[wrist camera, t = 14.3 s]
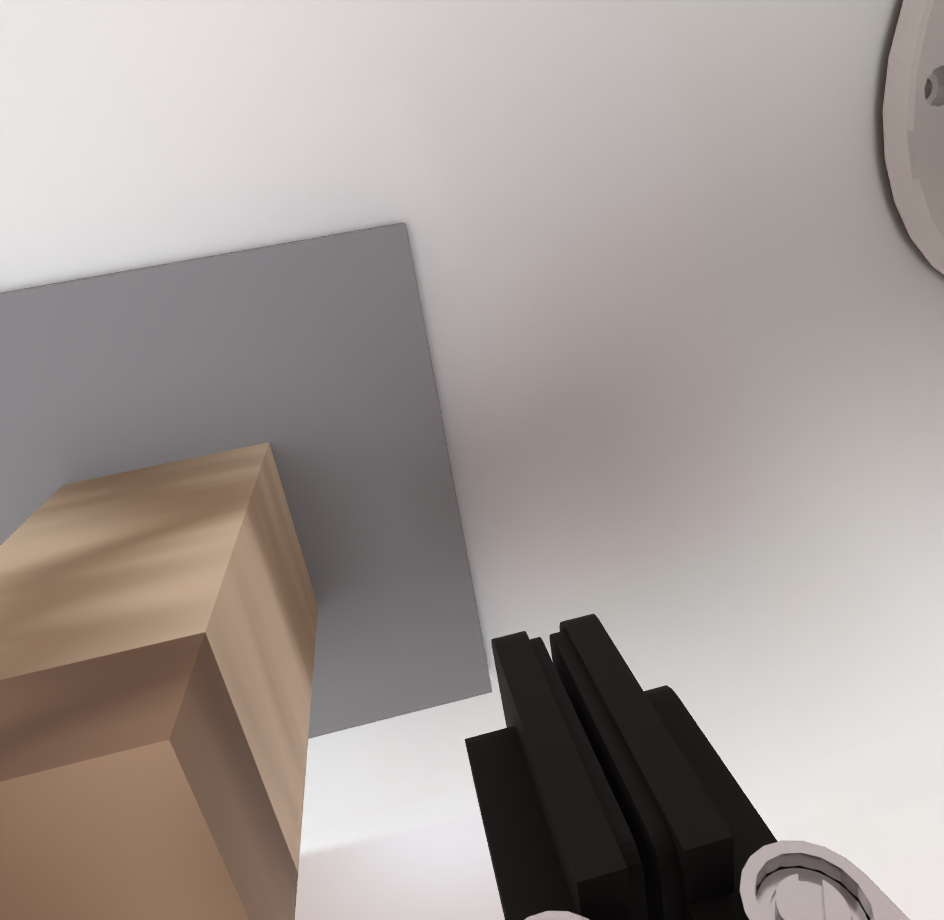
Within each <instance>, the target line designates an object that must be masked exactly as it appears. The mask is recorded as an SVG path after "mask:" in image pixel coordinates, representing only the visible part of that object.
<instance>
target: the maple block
mask: <svg viewBox="0 0 944 920" xmlns="http://www.w3.org/2000/svg"><path fill="white" fill-rule="evenodd" d="M317 614H318V604H317V601H316V598H315V594H314V591H313V588H312V584H311V581H310V577H309V574H308V571H307V567H306V564H305V561H304V557H303V554H302V551H301V547H300V544H299V541H298V537H297V534H296V531H295V527H294V524H293V520H292V517H291V514H290V510H289V507H288V504H287V500H286V497H285V494H284V490H283V487H282V484H281V480H280V477H279V473H278V470H277V467H276V463H275V460H274V457H273V453H272V450H271V447H270V443H269V442H267V443H263V444H258V445H253V446H248V447H243V448H238V449H234V450H229V451H224V452H219V453H214V454H209V455H204V456H200V457H195V458H190V459H185V460H180V461H175V462H170V463H166V464H161V465H156V466H151V467H146V468H141V469H137V470H132V471H127V472H122V473H117V474H112V475H107V476H103V477H98V478H93V479H88V480H83V481H78V482H73V483H69V484H64V485H62V486H61V487H60V488H59V489H58V490H57V491H56V492H55V493H54V494H53V495H52V496H51V497H50V498H49V499H48V500H47V501H46V502H45V503H44V504H43V505H42V506H41V507H40V508H38V509H37V510H36V511H35V512H34V513H33V514H32V515H31V516H30V517H29V518H28V519H27V520H26V521H25V522H24V523H23V524H22V525H21V526H20V527H19V528H18V529H17V530H16V531H15V532H14V533H13V534H12V535H11V536H10V537H9V538H8V539H7V540H6V541H5V542H4V543H3V544H1V545H0V920H294V919H295V906H296V893H297V879H298V865H299V853H300V840H301V827H302V813H303V800H304V787H305V773H306V760H307V747H308V734H309V720H310V707H311V694H312V681H313V667H314V654H315V641H316V628H317Z"/></svg>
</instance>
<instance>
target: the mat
mask: <svg viewBox="0 0 944 920" xmlns="http://www.w3.org/2000/svg"><path fill="white" fill-rule="evenodd" d="M267 442H269V443H270V447H271V450H272V453H273V457H274V460H275V463H276V467H277V470H278V473H279V477H280V480H281V484H282V487H283V490H284V494H285V497H286V500H287V504H288V507H289V510H290V514H291V517H292V520H293V524H294V527H295V531H296V534H297V537H298V541H299V544H300V547H301V551H302V554H303V557H304V561H305V564H306V567H307V571H308V574H309V577H310V581H311V584H312V588H313V591H314V594H315V598H316V601H317V604H318V614H317V628H316V641H315V654H314V667H313V681H312V694H311V707H310V720H309V734H308V739H309V738H313V737H317V736H321V735H324V734H328V733H332V732H336V731H340V730H344V729H348V728H352V727H356V726H360V725H364V724H368V723H372V722H376V721H380V720H384V719H388V718H392V717H395V716H399V715H403V714H407V713H411V712H415V711H419V710H423V709H427V708H431V707H435V706H439V705H443V704H447V703H451V702H455V701H459V700H463V699H467V698H470V697H474V696H478V695H482V694H486V693H490V692H492V688H491V683H490V678H489V672H488V667H487V661H486V656H485V651H484V645H483V640H482V634H481V629H480V624H479V618H478V613H477V607H476V602H475V597H474V591H473V586H472V580H471V575H470V570H469V564H468V559H467V553H466V548H465V543H464V537H463V532H462V526H461V521H460V516H459V510H458V505H457V499H456V494H455V489H454V483H453V478H452V472H451V467H450V461H449V456H448V451H447V445H446V440H445V434H444V429H443V424H442V418H441V413H440V407H439V402H438V397H437V391H436V386H435V380H434V375H433V370H432V364H431V359H430V353H429V348H428V343H427V337H426V332H425V326H424V321H423V316H422V310H421V305H420V299H419V294H418V289H417V283H416V278H415V272H414V267H413V262H412V256H411V251H410V245H409V240H408V235H407V229H406V224H405V223H398V224H392V225H386V226H381V227H375V228H369V229H364V230H358V231H352V232H346V233H341V234H335V235H329V236H323V237H318V238H312V239H306V240H301V241H295V242H289V243H283V244H278V245H272V246H266V247H260V248H255V249H249V250H243V251H238V252H232V253H226V254H220V255H215V256H209V257H203V258H197V259H192V260H186V261H180V262H175V263H169V264H163V265H157V266H152V267H146V268H140V269H134V270H129V271H123V272H117V273H111V274H106V275H100V276H94V277H89V278H83V279H77V280H71V281H66V282H60V283H54V284H48V285H43V286H37V287H31V288H26V289H20V290H14V291H8V292H3V293H0V545H1V544H3V543H4V542H5V541H6V540H7V539H8V538H9V537H10V536H11V535H12V534H13V533H14V532H15V531H16V530H17V529H18V528H19V527H20V526H21V525H22V524H23V523H24V522H25V521H26V520H27V519H28V518H29V517H30V516H31V515H32V514H33V513H34V512H35V511H36V510H37V509H38V508H40V507H41V506H42V505H43V504H44V503H45V502H46V501H47V500H48V499H49V498H50V497H51V496H52V495H53V494H54V493H55V492H56V491H57V490H58V489H59V488H60V487H61V486H62V485H64V484H69V483H73V482H78V481H83V480H88V479H93V478H98V477H103V476H107V475H112V474H117V473H122V472H127V471H132V470H137V469H141V468H146V467H151V466H156V465H161V464H166V463H170V462H175V461H180V460H185V459H190V458H195V457H200V456H204V455H209V454H214V453H219V452H224V451H229V450H234V449H238V448H243V447H248V446H253V445H258V444H263V443H267Z"/></svg>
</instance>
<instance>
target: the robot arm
mask: <svg viewBox="0 0 944 920" xmlns="http://www.w3.org/2000/svg"><path fill="white" fill-rule="evenodd" d="M883 129H884V153H885V162H886V167H887V171H888V176H889V180H890V185H891V189H892V194H893V198H894V202H895V204H896V207H897V209H898V211H899V213H900V216H901V218H902V220H903V222H904V225H905V227H906V229H907V231H908V233H909V236H910V238H911V239H912V240H913V242H914V243H915V244H916V246H917V247H918V248H919V250H920V251H921V252H922V253H923V255H924V256H925V257H926V259H927V260H928V261H929V263H930V264H931V265H932V266H933V267H934V268H936V269H937V270H938V271H939V272H941V273H942V274H943V275H944V0H903V4H902V7H901V11H900V15H899V19H898V23H897V27H896V30H895V34H894V38H893V42H892V46H891V50H890V53H889V59H888V67H887V76H886V85H885V94H884V103H883ZM491 642H492V649H493V655H494V660H495V666H496V671H497V677H498V682H499V688H500V693H501V699H502V704H503V710H504V715H505V720H506V726H507V728H505V729H501V730H497V731H494V732H490V733H486V734H482V735H479V736H475V737H471V738H467V739H465V743H466V747H467V752H468V757H469V761H470V766H471V770H472V775H473V780H474V784H475V789H476V793H477V798H478V802H479V807H480V811H481V816H482V820H483V825H484V829H485V834H486V838H487V842H488V847H489V851H490V855H491V860H492V864H493V869H494V873H495V878H496V882H497V886H498V891H499V895H500V899H501V904H502V908H503V913H504V917H505V920H910V919H909V918H908V917H907V916H906V915H905V914H904V913H903V912H902V911H901V910H900V909H899V908H898V907H897V906H896V905H895V904H894V903H893V902H892V901H891V900H890V899H889V898H888V897H887V896H886V895H885V894H884V893H883V892H882V891H881V890H880V889H879V887H878V886H877V885H876V884H875V883H874V882H873V881H872V880H871V879H870V878H869V877H868V876H867V875H866V874H865V873H863V872H862V871H861V870H860V869H859V868H857V867H856V866H855V865H854V864H853V863H851V862H850V861H849V860H848V859H846V858H845V857H843V856H841V855H839V854H837V853H835V852H833V851H831V850H829V849H828V848H826V847H823V846H819V845H816V844H812V843H808V842H805V841H779V842H778V841H777V840H776V839H775V837H774V836H773V834H772V833H771V831H770V830H769V828H768V827H767V825H766V824H765V823H764V821H763V820H762V818H761V817H760V815H759V814H758V812H757V811H756V809H755V808H754V806H753V805H752V804H751V802H750V801H749V799H748V798H747V796H746V795H745V793H744V792H743V790H742V789H741V788H740V786H739V785H738V783H737V782H736V780H735V779H734V777H733V776H732V774H731V773H730V772H729V770H728V769H727V767H726V766H725V764H724V763H723V761H722V760H721V758H720V757H719V755H718V754H717V753H716V751H715V750H714V748H713V747H712V745H711V744H710V742H709V741H708V739H707V738H706V737H705V735H704V734H703V732H702V731H701V729H700V728H699V726H698V725H697V723H696V722H695V721H694V719H693V718H692V716H691V715H690V713H689V712H688V710H687V709H686V707H685V706H684V704H683V703H682V702H681V700H680V699H679V697H678V696H677V695H676V693H675V692H674V691H673V690H672V689H671V688H670V687H668V686H667V685H666V686H662V687H658V688H655V689H651V690H647V691H643V690H642V688H641V687H640V685H639V683H638V682H637V680H636V679H635V677H634V675H633V674H632V672H631V670H630V669H629V667H628V666H627V664H626V662H625V661H624V659H623V658H622V656H621V654H620V653H619V651H618V650H617V648H616V646H615V645H614V643H613V642H612V640H611V638H610V637H609V635H608V633H607V632H606V630H605V629H604V627H603V625H602V624H601V622H600V621H599V619H598V618H597V616H596V615H595V614H590V615H586V616H582V617H578V618H574V619H570V620H566V621H562V622H561V623H560V632H558V633H554V634H550V646H551V653H552V660H553V662H552V660H551V658H550V656H549V653H548V651H547V649H546V647H545V645H544V642H543V640H542V639H541V637H538V638H534V639H530V640H529V638H528V635H527V633H526V632H525V631H523V632H519V633H515V634H511V635H507V636H503V637H499V638H495V639H492V640H491Z"/></svg>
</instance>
